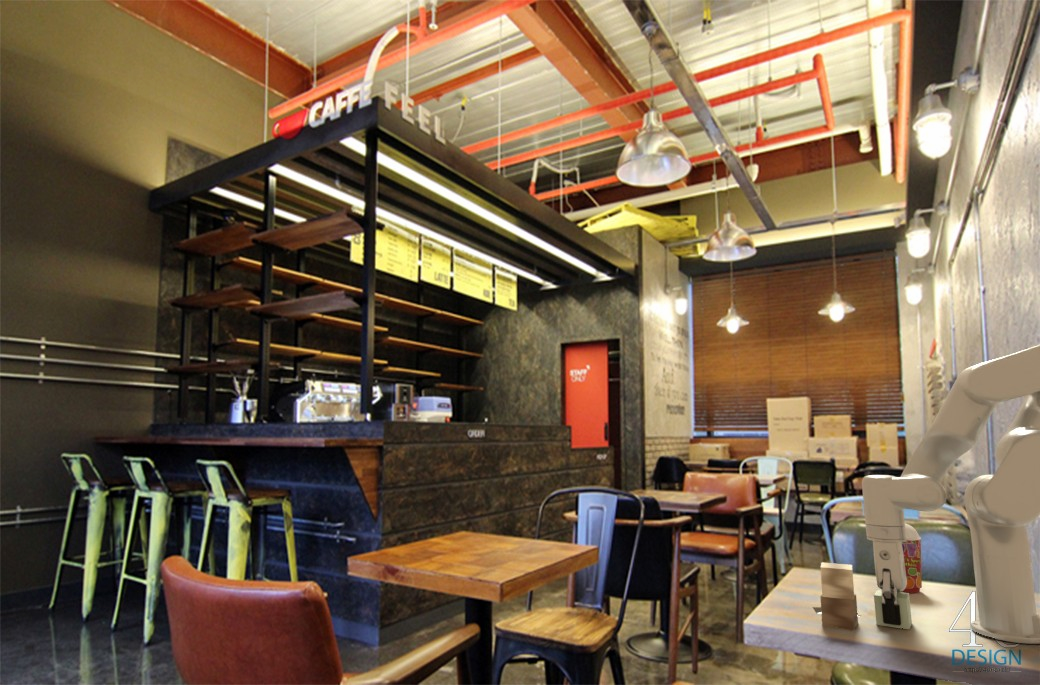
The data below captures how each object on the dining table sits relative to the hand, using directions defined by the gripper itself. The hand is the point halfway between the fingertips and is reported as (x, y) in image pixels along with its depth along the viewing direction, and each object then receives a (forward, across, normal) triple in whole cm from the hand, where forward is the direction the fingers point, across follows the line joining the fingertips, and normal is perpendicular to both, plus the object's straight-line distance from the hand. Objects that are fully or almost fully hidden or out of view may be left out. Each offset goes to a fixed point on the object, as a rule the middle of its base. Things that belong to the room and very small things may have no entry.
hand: (893, 619), depth 135 cm
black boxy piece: (+2, +4, +12) cm, 13 cm away
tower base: (+1, -7, +9) cm, 12 cm away
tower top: (-5, -7, +9) cm, 13 cm away
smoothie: (+1, +36, 0) cm, 36 cm away
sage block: (+1, 0, 0) cm, 1 cm away
